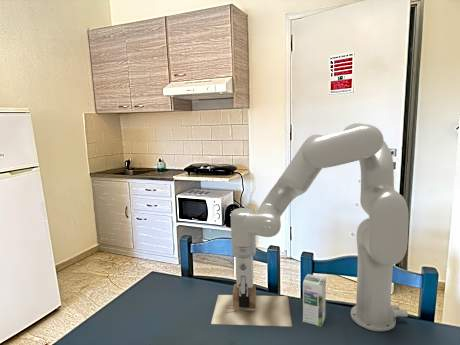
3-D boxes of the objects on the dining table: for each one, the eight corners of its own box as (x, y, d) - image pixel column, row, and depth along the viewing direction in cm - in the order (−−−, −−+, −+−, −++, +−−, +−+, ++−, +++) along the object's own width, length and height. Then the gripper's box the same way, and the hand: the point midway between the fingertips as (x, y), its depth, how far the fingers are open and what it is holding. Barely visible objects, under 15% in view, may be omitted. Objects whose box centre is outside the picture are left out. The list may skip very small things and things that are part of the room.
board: (287, 300, 110) (287, 296, 110) (291, 330, 94) (291, 326, 94) (218, 298, 112) (218, 294, 112) (211, 328, 97) (211, 323, 96)
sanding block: (255, 301, 105) (255, 284, 104) (255, 310, 100) (255, 292, 99) (234, 300, 106) (234, 283, 105) (233, 309, 101) (232, 292, 100)
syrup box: (302, 326, 96) (302, 281, 94) (307, 315, 101) (307, 272, 99) (321, 331, 93) (322, 285, 91) (325, 320, 99) (326, 276, 96)
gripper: (255, 260, 91) (255, 318, 94) (256, 238, 108) (256, 288, 111) (228, 260, 92) (230, 317, 95) (234, 237, 108) (235, 287, 111)
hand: (244, 301), depth 103 cm, fingers closed on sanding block, 5 cm apart
